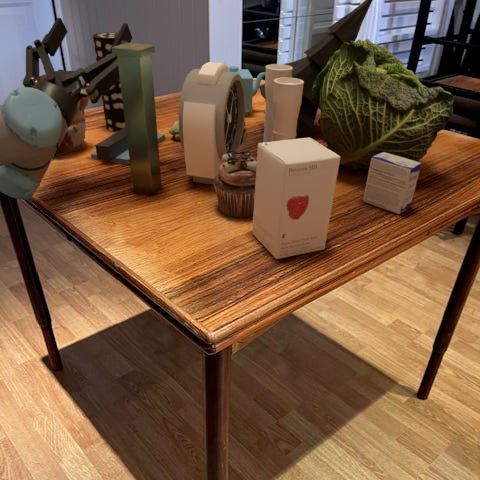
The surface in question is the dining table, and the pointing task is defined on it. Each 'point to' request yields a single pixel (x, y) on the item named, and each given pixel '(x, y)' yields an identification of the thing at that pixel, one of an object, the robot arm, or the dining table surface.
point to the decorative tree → (322, 62)
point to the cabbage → (376, 106)
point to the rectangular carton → (293, 195)
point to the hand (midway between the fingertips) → (94, 27)
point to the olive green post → (140, 115)
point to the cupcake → (236, 184)
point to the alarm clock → (210, 118)
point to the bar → (112, 146)
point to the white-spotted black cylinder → (112, 95)
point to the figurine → (74, 129)
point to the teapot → (248, 85)
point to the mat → (125, 153)
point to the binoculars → (281, 103)
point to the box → (391, 182)
